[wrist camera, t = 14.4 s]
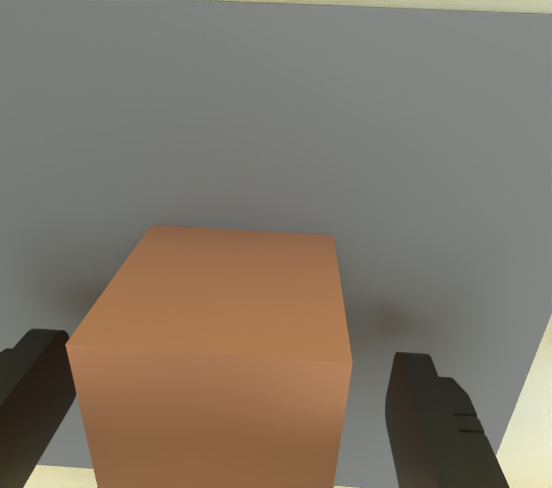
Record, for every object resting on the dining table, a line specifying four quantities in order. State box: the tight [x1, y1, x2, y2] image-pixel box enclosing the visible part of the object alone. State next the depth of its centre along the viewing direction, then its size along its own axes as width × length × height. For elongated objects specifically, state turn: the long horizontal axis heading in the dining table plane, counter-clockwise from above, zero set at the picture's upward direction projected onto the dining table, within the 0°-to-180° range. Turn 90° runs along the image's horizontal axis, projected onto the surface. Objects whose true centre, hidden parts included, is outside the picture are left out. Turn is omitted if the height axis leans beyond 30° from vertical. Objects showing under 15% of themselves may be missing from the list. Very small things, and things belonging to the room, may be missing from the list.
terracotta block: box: [65, 225, 353, 488], centre depth 11 cm, size 5×5×5 cm
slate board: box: [0, 0, 552, 488], centre depth 14 cm, size 18×16×1 cm
